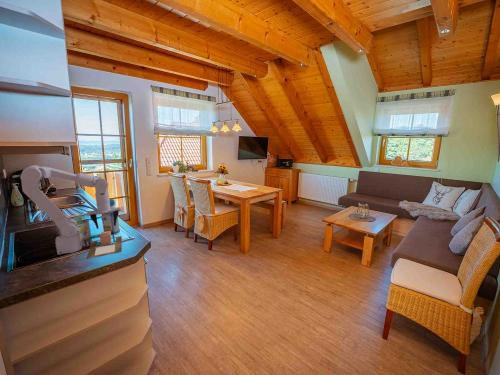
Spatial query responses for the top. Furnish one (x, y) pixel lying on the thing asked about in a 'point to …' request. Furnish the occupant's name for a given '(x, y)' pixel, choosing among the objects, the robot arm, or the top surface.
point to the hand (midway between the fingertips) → (106, 226)
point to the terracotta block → (105, 237)
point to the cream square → (104, 250)
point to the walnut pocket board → (94, 245)
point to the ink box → (83, 228)
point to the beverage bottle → (110, 221)
